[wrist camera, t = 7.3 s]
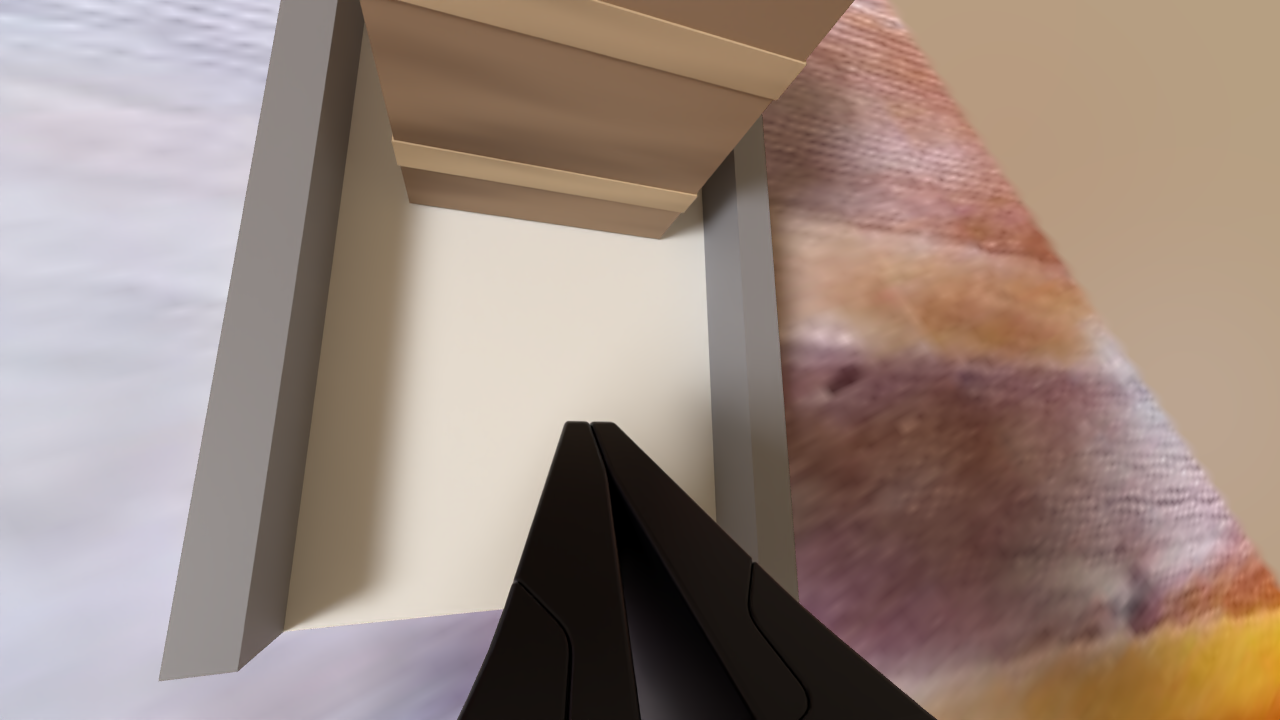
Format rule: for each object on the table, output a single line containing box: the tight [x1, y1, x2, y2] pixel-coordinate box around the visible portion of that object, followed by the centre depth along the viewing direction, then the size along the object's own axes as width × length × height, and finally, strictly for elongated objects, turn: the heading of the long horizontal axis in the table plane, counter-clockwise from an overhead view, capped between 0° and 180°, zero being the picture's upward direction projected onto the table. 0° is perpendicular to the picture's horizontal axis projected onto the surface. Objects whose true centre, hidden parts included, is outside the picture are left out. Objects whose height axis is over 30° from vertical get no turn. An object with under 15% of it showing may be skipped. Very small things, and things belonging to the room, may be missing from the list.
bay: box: [159, 0, 799, 681], centre depth 14 cm, size 20×14×5 cm
